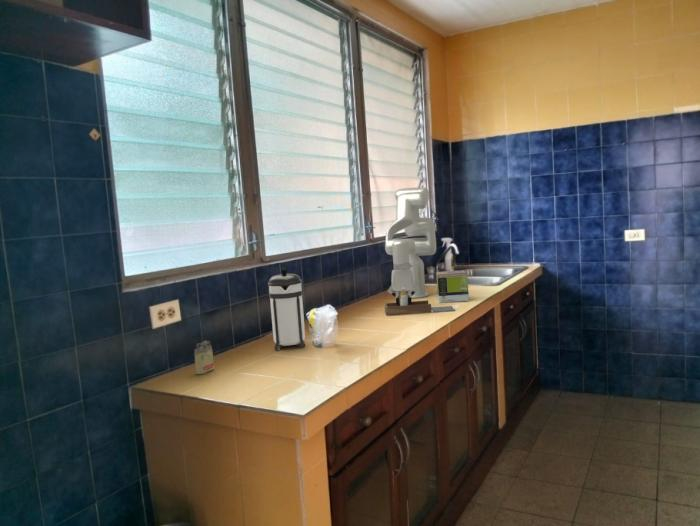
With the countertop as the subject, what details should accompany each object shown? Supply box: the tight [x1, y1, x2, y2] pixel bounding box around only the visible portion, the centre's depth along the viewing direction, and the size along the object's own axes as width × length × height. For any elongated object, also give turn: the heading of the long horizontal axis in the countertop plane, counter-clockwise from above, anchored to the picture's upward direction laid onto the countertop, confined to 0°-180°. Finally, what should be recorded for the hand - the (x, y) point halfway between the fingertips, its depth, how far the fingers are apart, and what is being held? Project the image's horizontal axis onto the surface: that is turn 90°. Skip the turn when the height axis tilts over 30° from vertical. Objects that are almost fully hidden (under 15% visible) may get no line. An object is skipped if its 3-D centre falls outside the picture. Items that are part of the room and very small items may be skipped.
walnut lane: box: [383, 300, 432, 317], centre depth 258 cm, size 10×21×4 cm, turn 90°
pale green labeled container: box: [194, 339, 215, 375], centre depth 183 cm, size 7×4×10 cm, turn 153°
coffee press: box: [267, 267, 306, 351], centre depth 209 cm, size 17×16×30 cm
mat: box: [431, 305, 456, 313], centre depth 258 cm, size 10×10×1 cm
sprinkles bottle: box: [398, 287, 408, 306], centre depth 258 cm, size 5×5×13 cm
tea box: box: [435, 269, 470, 304], centre depth 279 cm, size 15×10×15 cm
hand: (403, 305), depth 258 cm, fingers closed on sprinkles bottle, 4 cm apart
